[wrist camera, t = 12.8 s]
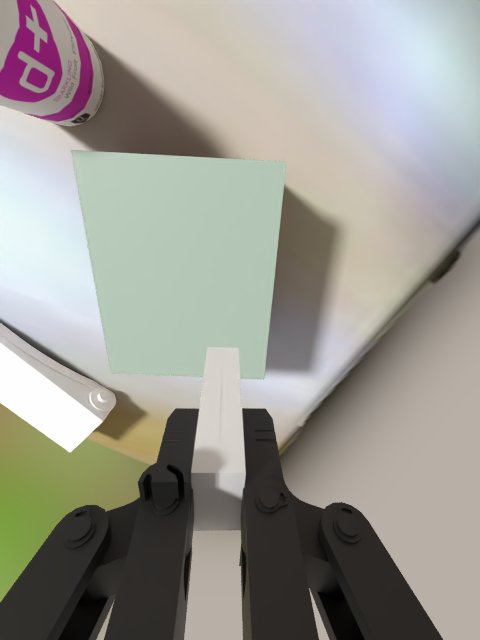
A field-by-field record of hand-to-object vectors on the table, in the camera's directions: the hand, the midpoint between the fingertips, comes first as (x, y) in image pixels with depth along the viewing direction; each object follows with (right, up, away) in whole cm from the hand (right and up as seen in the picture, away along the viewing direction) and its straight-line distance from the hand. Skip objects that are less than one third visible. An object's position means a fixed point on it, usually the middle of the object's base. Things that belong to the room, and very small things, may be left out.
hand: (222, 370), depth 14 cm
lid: (-4, +6, +13) cm, 15 cm away
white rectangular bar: (-30, -3, +26) cm, 40 cm away
